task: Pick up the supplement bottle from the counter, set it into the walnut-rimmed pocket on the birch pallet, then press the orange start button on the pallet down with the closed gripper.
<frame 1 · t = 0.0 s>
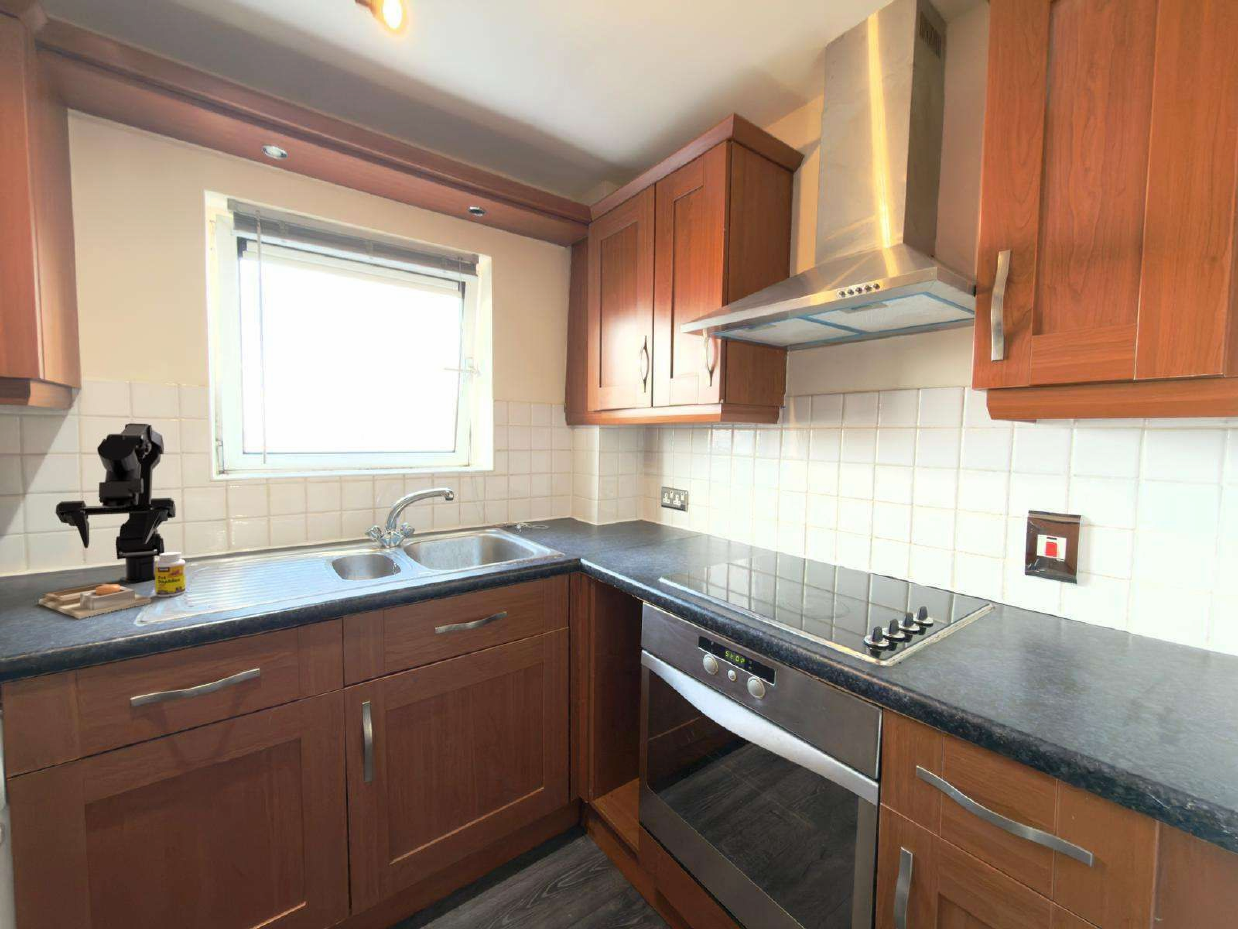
hand: (116, 545, 111), 15 cm above the worktop, tool tilted 35°, fingers open, 9 cm apart
supplement bottle: (170, 595, 125), on the worktop
pallet: (95, 603, 117), on the worktop
start button: (107, 591, 114), point 4 cm above the worktop, slide at 0.0 cm
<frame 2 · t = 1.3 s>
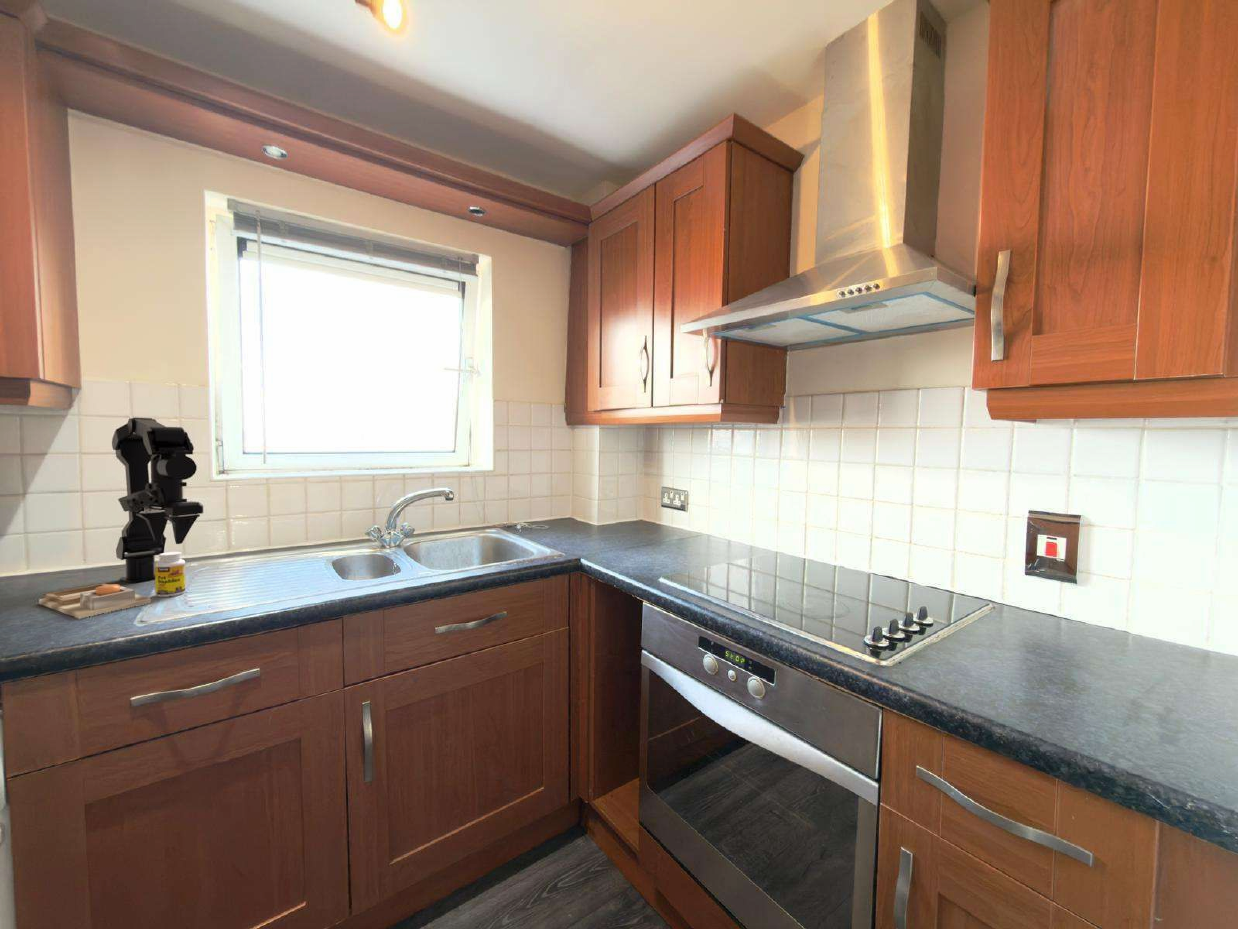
hand: (168, 542, 124), 13 cm above the worktop, tool pointing down, fingers open, 9 cm apart
nothing on the worktop moved.
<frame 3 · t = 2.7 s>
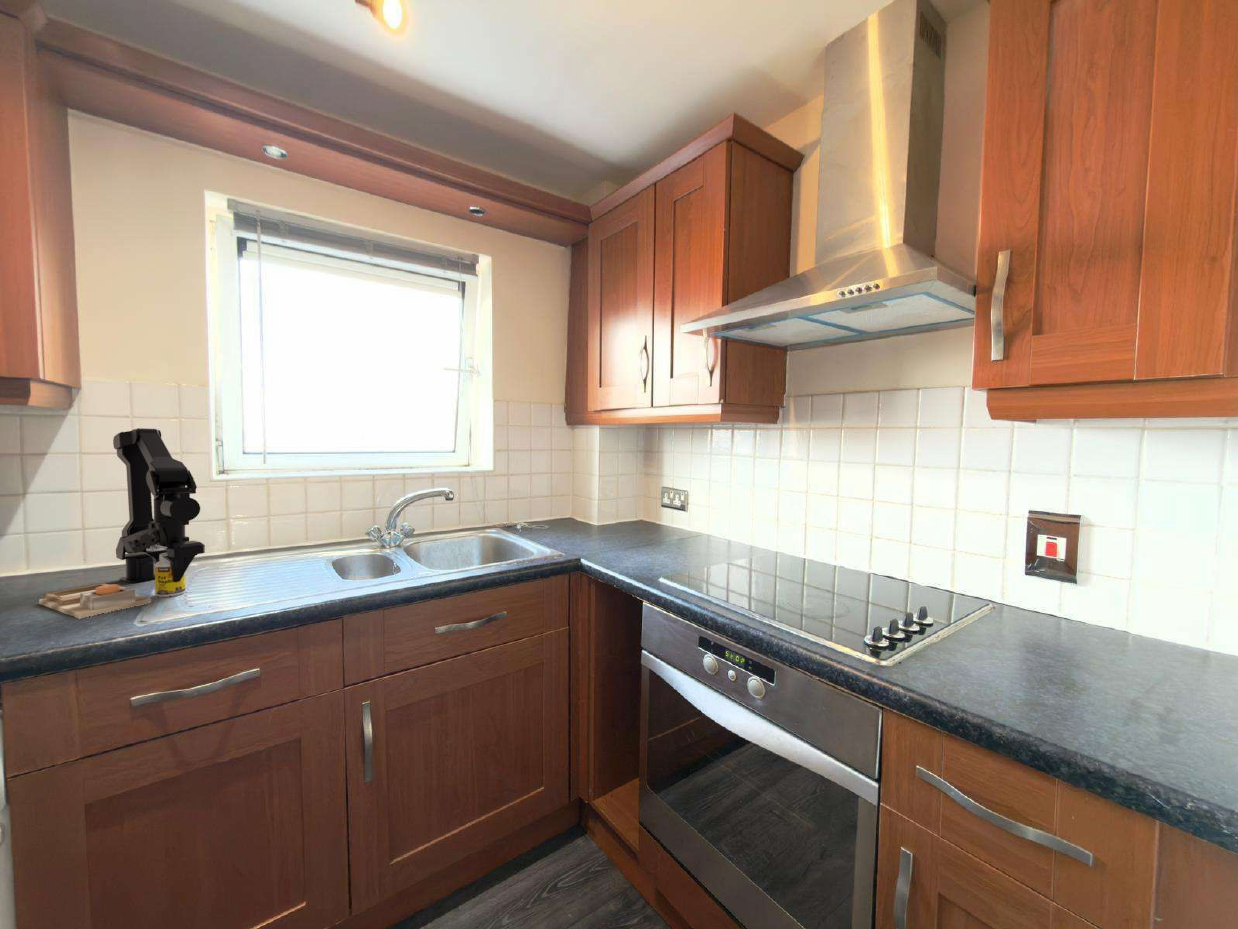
hand: (170, 580, 125), 4 cm above the worktop, tool pointing down, fingers closed on supplement bottle, 6 cm apart
supplement bottle: (170, 595, 125), on the worktop, touching gripper
everything else where it was.
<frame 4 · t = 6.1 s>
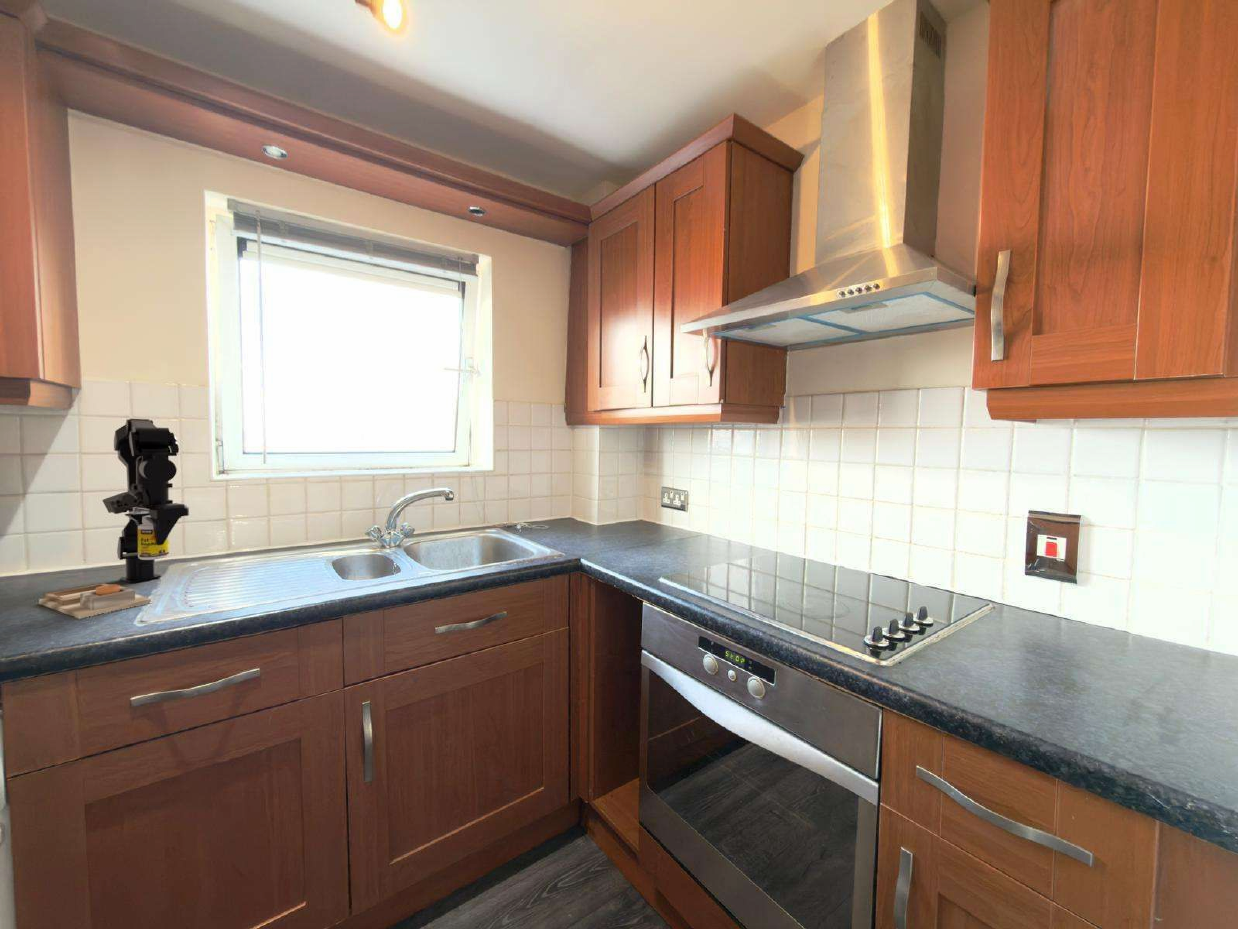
hand: (153, 543, 123), 13 cm above the worktop, tool pointing down, fingers closed on supplement bottle, 5 cm apart
supplement bottle: (153, 558, 123), point 9 cm above the worktop, touching gripper
everything else where it was.
when the fingers open (6 cm above the worktop, at t = 9.1 s): supplement bottle drops 1 cm, resting on pallet.
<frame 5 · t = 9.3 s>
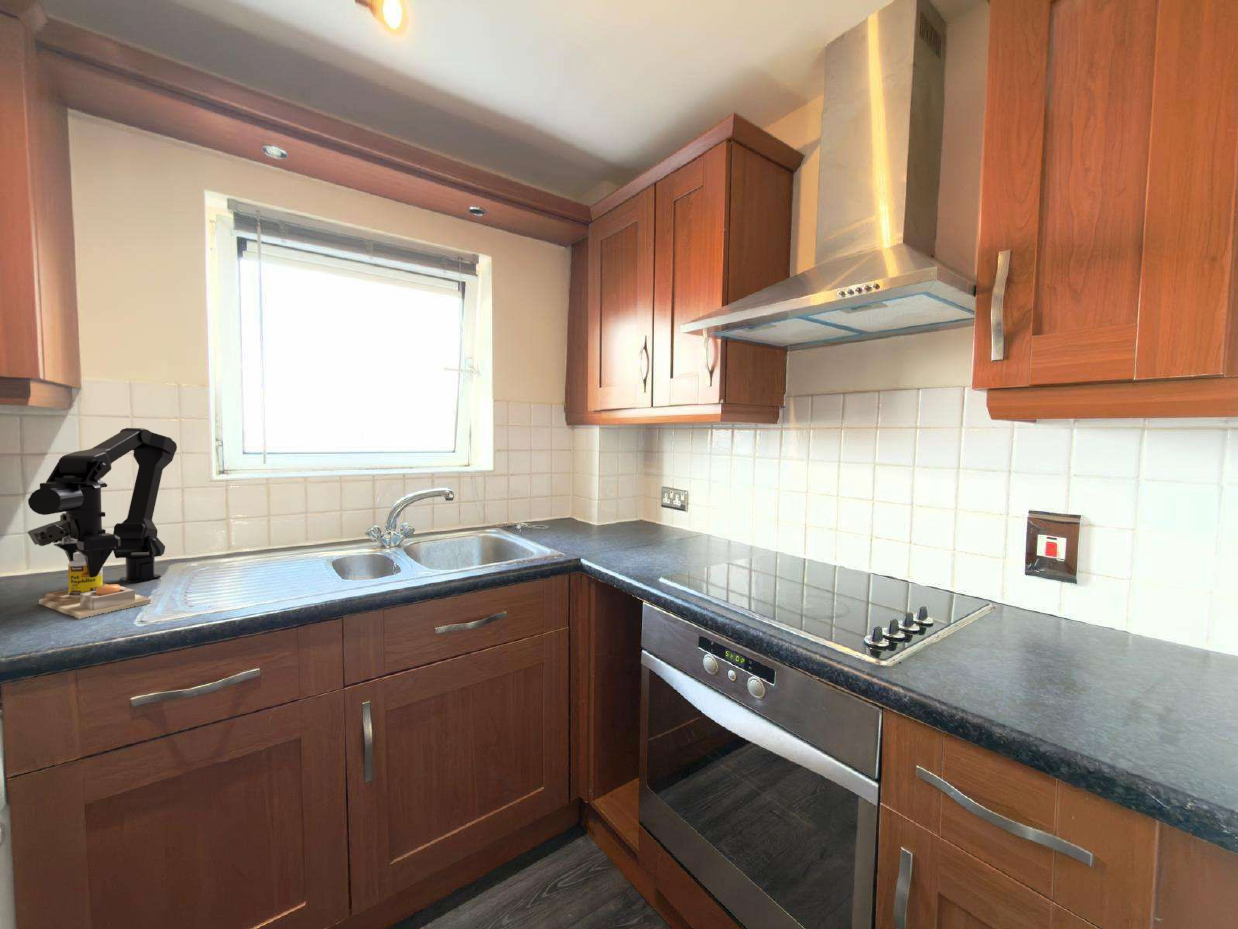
hand: (85, 574, 119), 6 cm above the worktop, tool pointing down, fingers open, 8 cm apart
supplement bottle: (85, 596, 119), point 1 cm above the worktop, touching pallet
everything else where it was.
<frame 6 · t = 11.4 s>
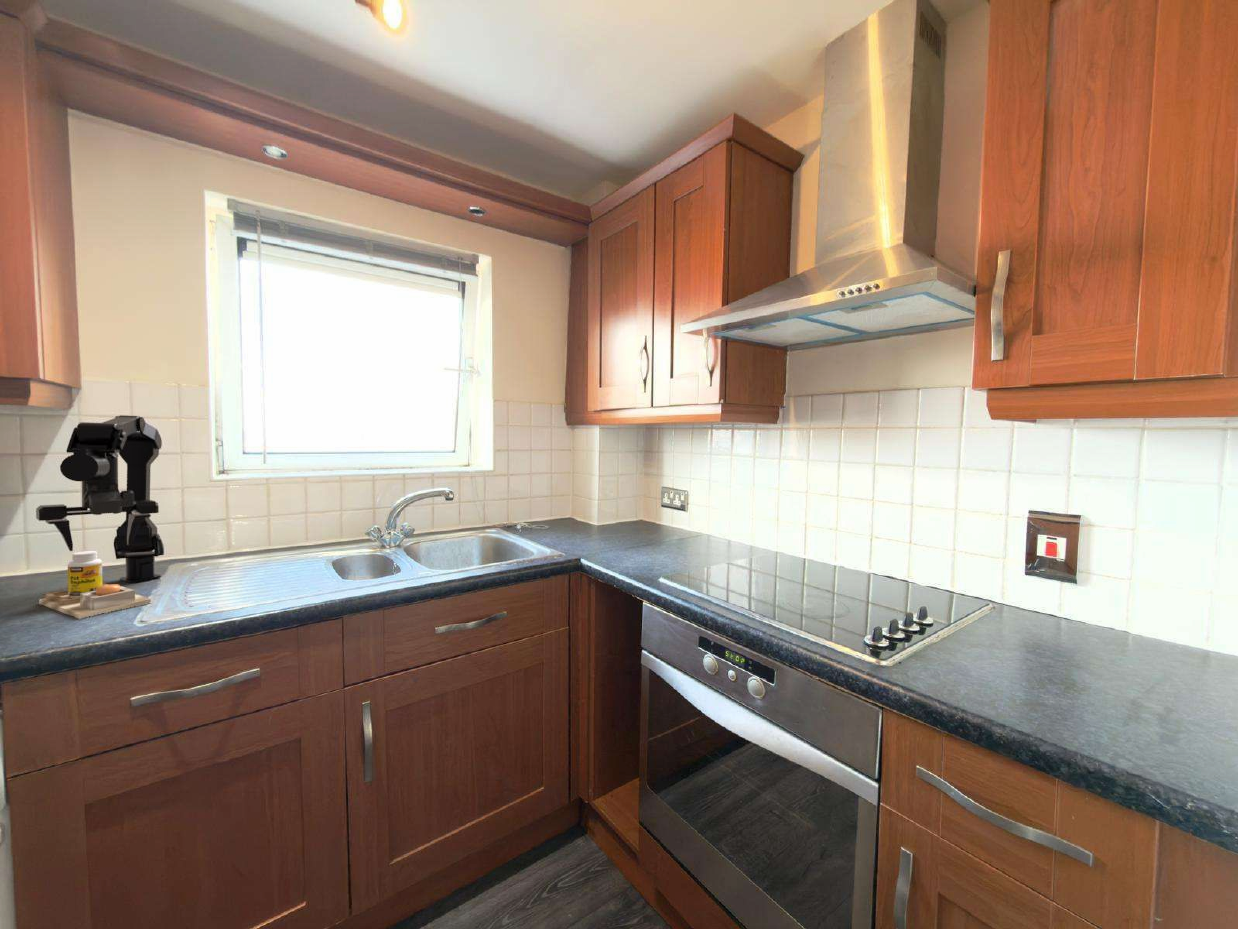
hand: (100, 547, 114), 13 cm above the worktop, tool pointing down, fingers open, 9 cm apart
nothing on the worktop moved.
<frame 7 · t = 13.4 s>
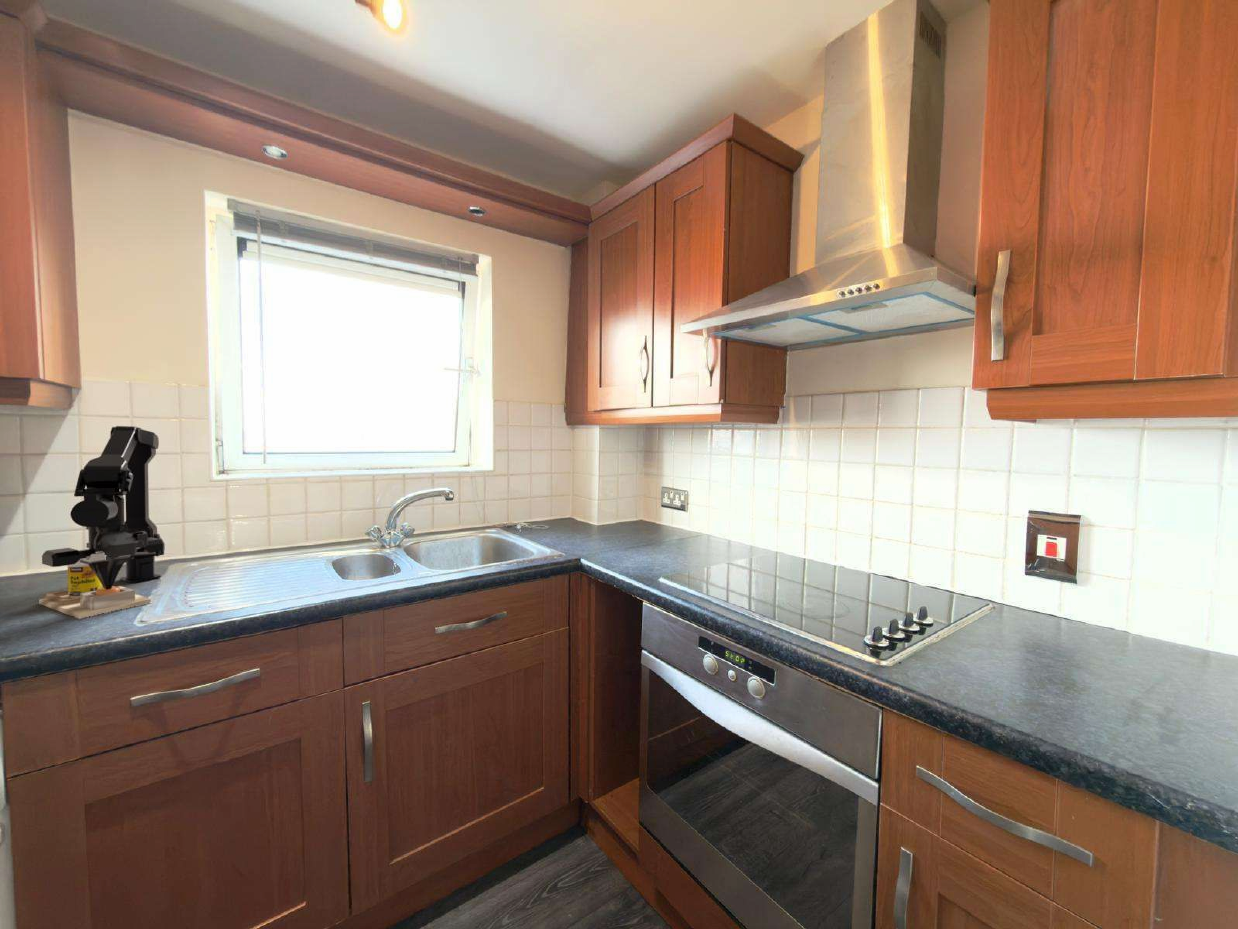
hand: (107, 588, 114), 4 cm above the worktop, tool pointing down, fingers closed, pressing on start button
start button: (108, 593, 114), point 3 cm above the worktop, slide at 0.5 cm, touching gripper
everything else where it was.
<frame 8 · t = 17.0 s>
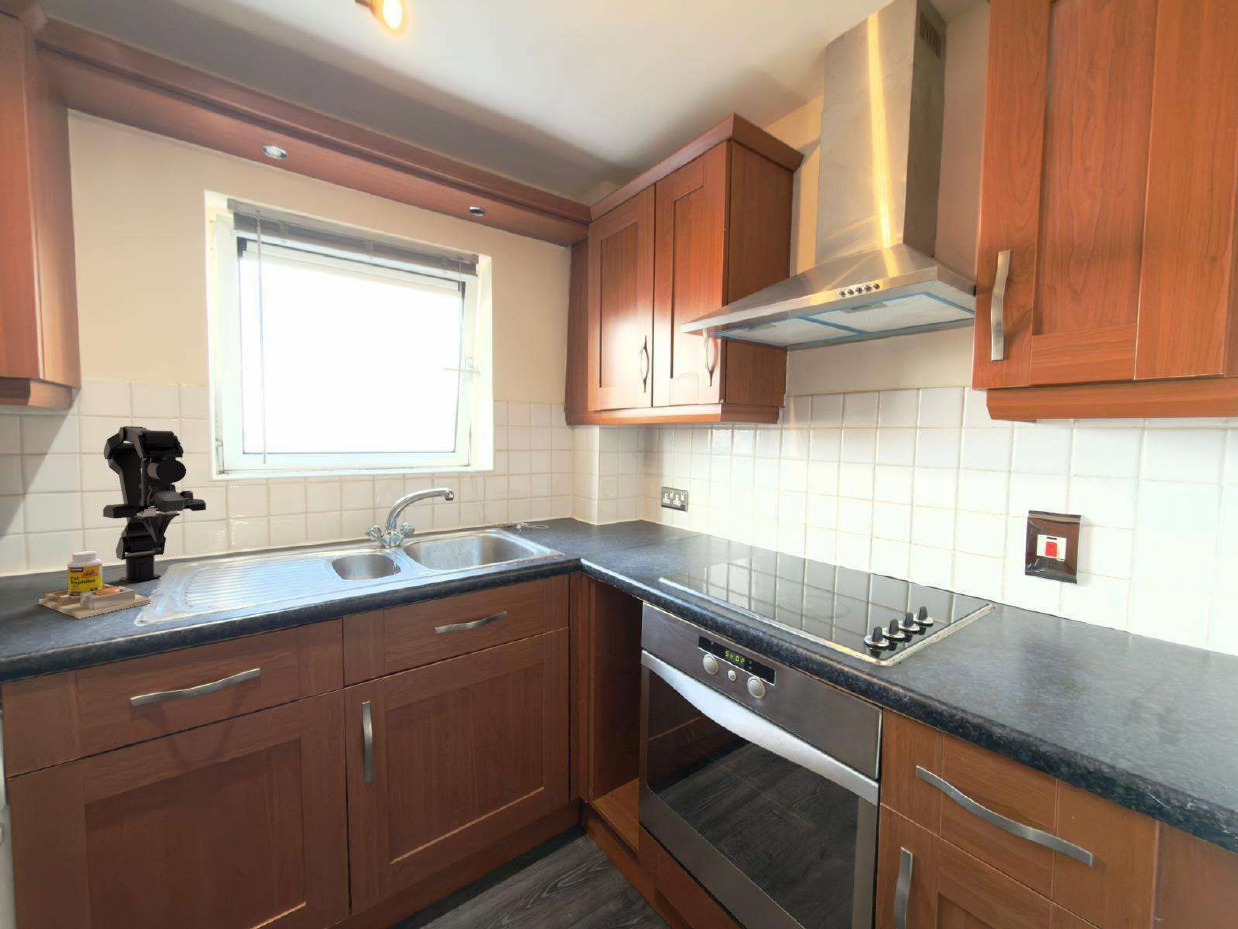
hand: (157, 541, 128), 12 cm above the worktop, tool pointing down, fingers closed
start button: (108, 594, 114), point 3 cm above the worktop, slide at 0.8 cm
everything else where it was.
at the end: supplement bottle 0.1 cm from the target spot on the pallet, point 0.8 cm above the pallet's base; supplement bottle tilted 0°; start button slide at 0.8 cm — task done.
